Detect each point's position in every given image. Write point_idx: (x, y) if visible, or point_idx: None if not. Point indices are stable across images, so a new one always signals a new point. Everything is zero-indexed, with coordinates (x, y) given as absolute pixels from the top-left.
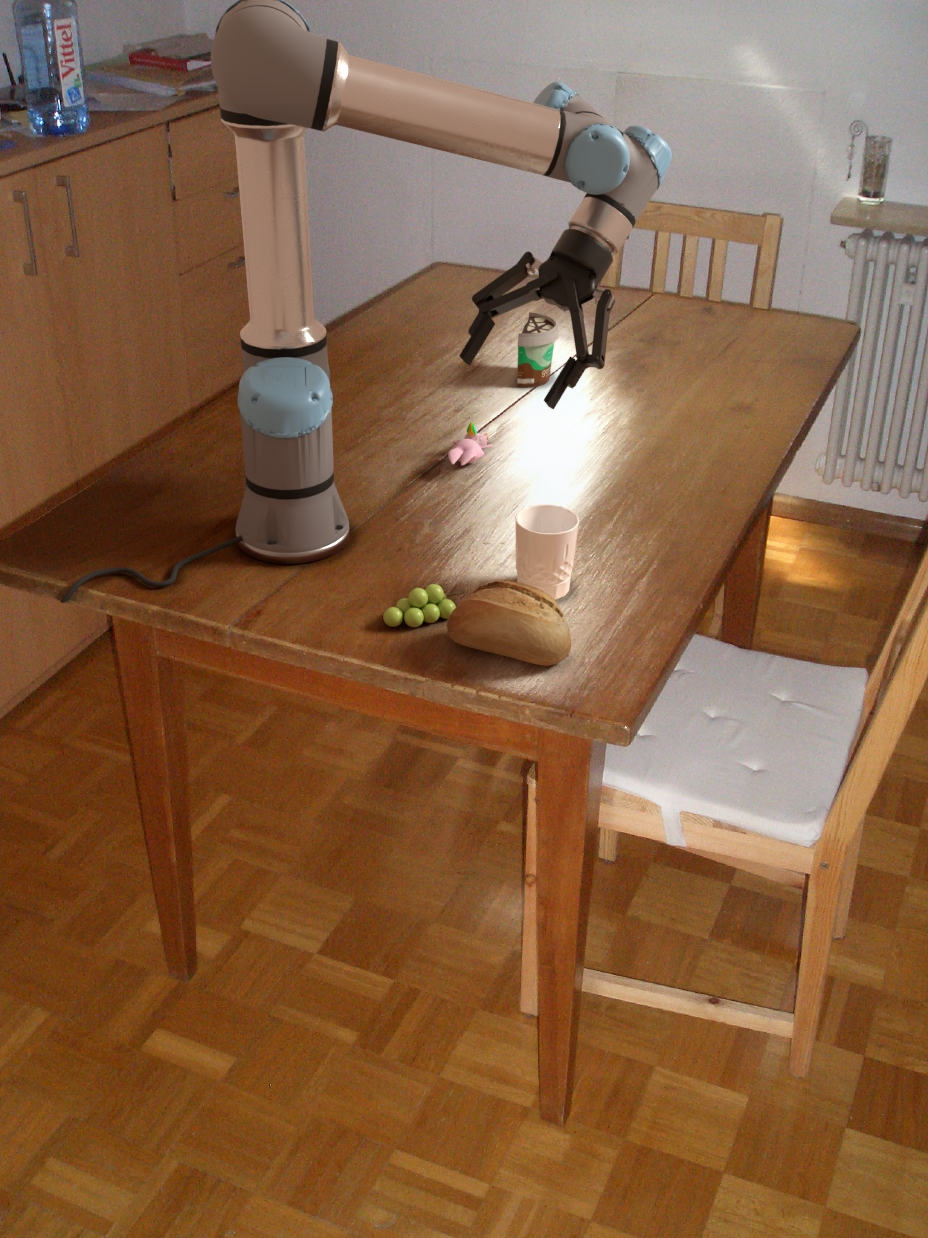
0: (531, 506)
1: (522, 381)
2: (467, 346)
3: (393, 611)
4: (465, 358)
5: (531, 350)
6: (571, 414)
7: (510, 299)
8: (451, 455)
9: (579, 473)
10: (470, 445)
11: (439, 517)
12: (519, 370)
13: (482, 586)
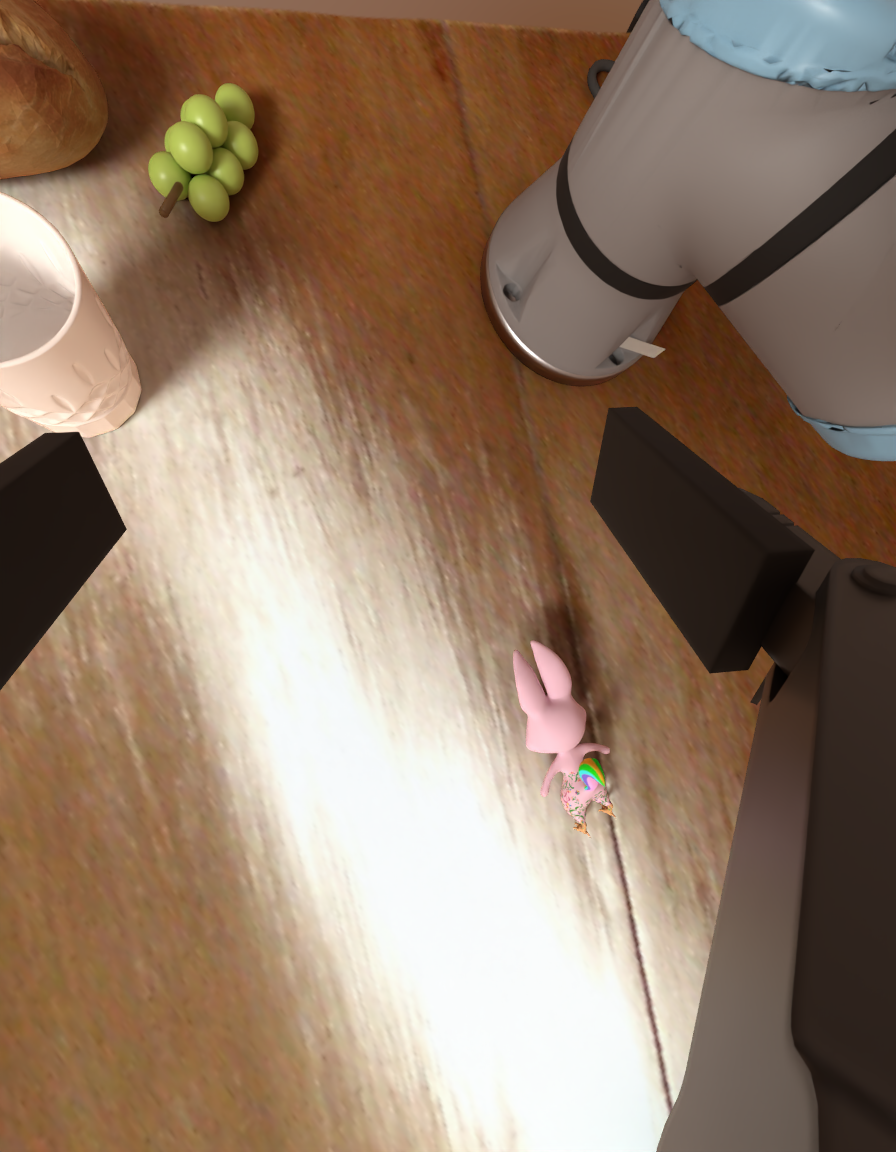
0: (67, 321)
1: None
2: (650, 430)
3: (226, 86)
4: (606, 427)
5: None
6: (537, 1094)
7: (835, 762)
8: (550, 655)
9: (341, 870)
10: (551, 719)
11: (437, 502)
12: None
13: (9, 46)
